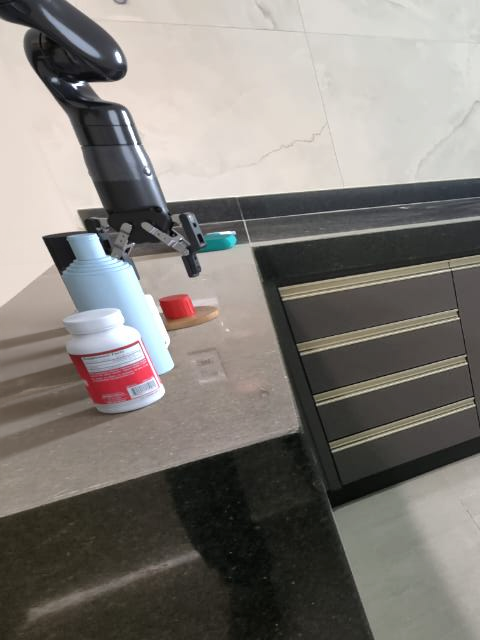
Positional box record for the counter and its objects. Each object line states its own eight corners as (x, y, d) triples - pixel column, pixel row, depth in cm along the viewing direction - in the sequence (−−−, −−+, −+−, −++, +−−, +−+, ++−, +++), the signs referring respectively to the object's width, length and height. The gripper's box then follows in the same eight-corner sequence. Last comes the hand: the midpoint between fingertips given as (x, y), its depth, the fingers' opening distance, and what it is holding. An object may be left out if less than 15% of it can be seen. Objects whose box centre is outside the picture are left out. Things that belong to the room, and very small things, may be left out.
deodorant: (108, 316, 94) (69, 231, 88) (140, 315, 94) (103, 230, 88) (74, 327, 89) (30, 238, 83) (108, 327, 88) (66, 237, 82)
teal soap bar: (187, 253, 143) (200, 241, 163) (235, 248, 148) (242, 236, 168) (182, 243, 142) (196, 231, 162) (231, 237, 147) (239, 227, 167)
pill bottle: (112, 396, 64) (69, 310, 60) (174, 386, 66) (137, 302, 62) (87, 420, 59) (38, 327, 55) (155, 408, 61) (114, 318, 57)
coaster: (131, 333, 85) (129, 328, 85) (165, 314, 94) (163, 309, 94) (202, 326, 87) (200, 321, 87) (229, 308, 96) (227, 303, 96)
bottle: (100, 386, 67) (28, 242, 60) (130, 366, 73) (68, 232, 65) (158, 379, 69) (95, 237, 61) (183, 360, 74) (129, 228, 67)
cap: (199, 313, 91) (192, 296, 89) (170, 320, 88) (162, 302, 86) (190, 310, 93) (183, 292, 91) (162, 316, 90) (154, 298, 88)
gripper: (190, 173, 87) (223, 270, 93) (84, 176, 83) (127, 277, 90) (166, 176, 80) (204, 281, 86) (50, 180, 76) (99, 288, 83)
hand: (164, 278), depth 88 cm, fingers open, 8 cm apart
